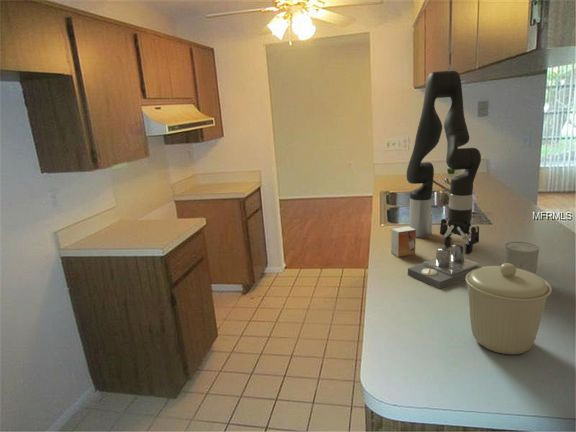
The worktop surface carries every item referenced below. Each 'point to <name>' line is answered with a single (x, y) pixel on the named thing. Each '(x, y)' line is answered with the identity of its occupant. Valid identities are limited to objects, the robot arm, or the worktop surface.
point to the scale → (437, 275)
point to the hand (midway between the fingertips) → (457, 250)
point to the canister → (506, 307)
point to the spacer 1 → (443, 257)
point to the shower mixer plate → (452, 266)
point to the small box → (403, 241)
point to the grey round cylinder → (522, 255)
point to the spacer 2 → (457, 252)
